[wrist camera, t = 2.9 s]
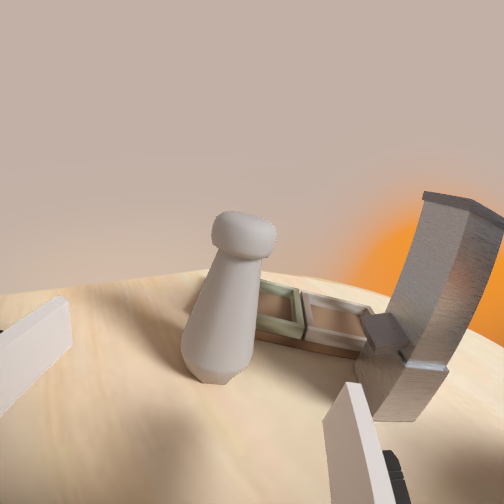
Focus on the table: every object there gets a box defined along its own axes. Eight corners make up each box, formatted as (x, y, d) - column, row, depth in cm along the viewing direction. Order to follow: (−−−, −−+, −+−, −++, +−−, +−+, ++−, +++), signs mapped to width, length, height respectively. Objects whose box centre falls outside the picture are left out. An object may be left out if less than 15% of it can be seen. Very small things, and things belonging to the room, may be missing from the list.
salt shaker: (166, 352, 22) (190, 200, 19) (221, 343, 26) (255, 208, 23) (198, 400, 18) (238, 225, 15) (258, 382, 22) (308, 232, 18)
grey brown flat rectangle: (364, 320, 39) (370, 306, 38) (387, 364, 28) (396, 347, 27) (217, 283, 39) (221, 268, 38) (197, 322, 28) (200, 302, 28)
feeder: (391, 371, 27) (459, 208, 21) (414, 421, 19) (513, 222, 14) (331, 362, 27) (399, 180, 22) (344, 418, 19) (447, 185, 14)
